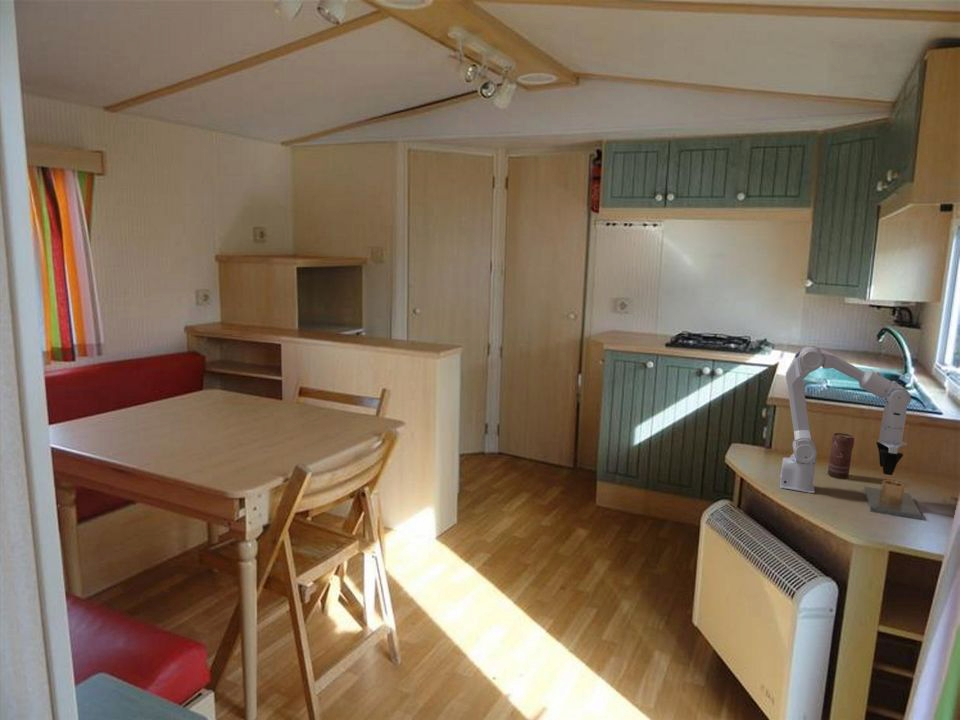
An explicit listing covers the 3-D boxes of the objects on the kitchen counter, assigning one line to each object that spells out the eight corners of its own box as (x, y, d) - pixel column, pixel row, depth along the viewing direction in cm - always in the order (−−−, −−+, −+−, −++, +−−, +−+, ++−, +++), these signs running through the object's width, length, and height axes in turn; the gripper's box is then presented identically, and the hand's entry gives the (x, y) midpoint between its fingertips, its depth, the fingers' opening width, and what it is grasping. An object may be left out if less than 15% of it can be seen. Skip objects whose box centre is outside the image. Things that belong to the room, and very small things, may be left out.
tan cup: (881, 501, 189) (883, 484, 188) (878, 494, 194) (881, 478, 193) (903, 504, 187) (905, 488, 186) (900, 498, 192) (902, 482, 191)
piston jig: (870, 511, 185) (873, 491, 184) (863, 491, 201) (865, 472, 200) (920, 519, 180) (923, 499, 179) (908, 498, 196) (911, 479, 195)
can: (849, 480, 210) (854, 439, 208) (827, 476, 213) (832, 435, 211) (849, 475, 215) (855, 434, 213) (827, 471, 218) (833, 431, 216)
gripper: (912, 434, 182) (905, 480, 184) (904, 422, 195) (898, 465, 197) (883, 430, 185) (876, 475, 187) (877, 419, 198) (871, 461, 200)
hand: (885, 470), depth 192 cm, fingers open, 7 cm apart
